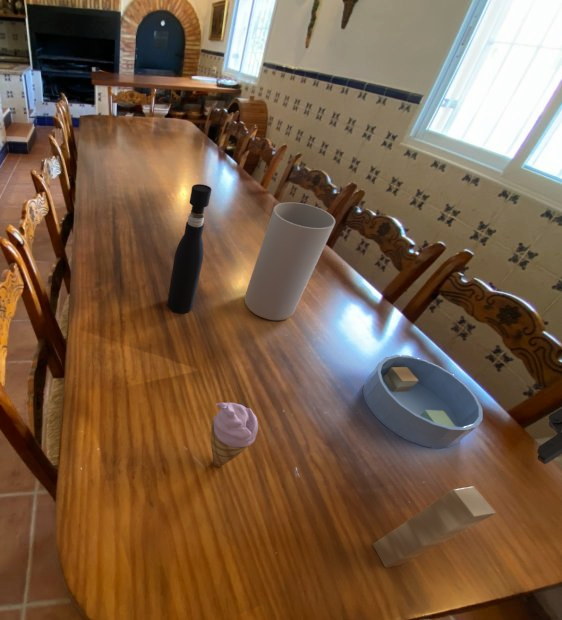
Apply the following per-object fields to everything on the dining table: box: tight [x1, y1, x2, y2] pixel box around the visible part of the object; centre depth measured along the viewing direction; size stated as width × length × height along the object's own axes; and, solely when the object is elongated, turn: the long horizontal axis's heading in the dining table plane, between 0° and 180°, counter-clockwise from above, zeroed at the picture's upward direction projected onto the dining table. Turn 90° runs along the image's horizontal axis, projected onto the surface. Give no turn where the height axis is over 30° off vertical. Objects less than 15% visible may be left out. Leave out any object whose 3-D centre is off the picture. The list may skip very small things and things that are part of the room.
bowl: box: [362, 354, 484, 449], centre depth 68 cm, size 17×17×6 cm
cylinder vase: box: [243, 201, 336, 321], centre depth 83 cm, size 12×12×25 cm
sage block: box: [420, 410, 456, 427], centre depth 64 cm, size 4×4×4 cm
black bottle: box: [166, 183, 212, 315], centre depth 79 cm, size 6×6×30 cm
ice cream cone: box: [210, 402, 259, 468], centre depth 54 cm, size 7×6×15 cm
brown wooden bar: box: [372, 486, 497, 568], centre depth 44 cm, size 3×3×18 cm
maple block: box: [383, 367, 419, 392], centre depth 72 cm, size 4×4×4 cm
